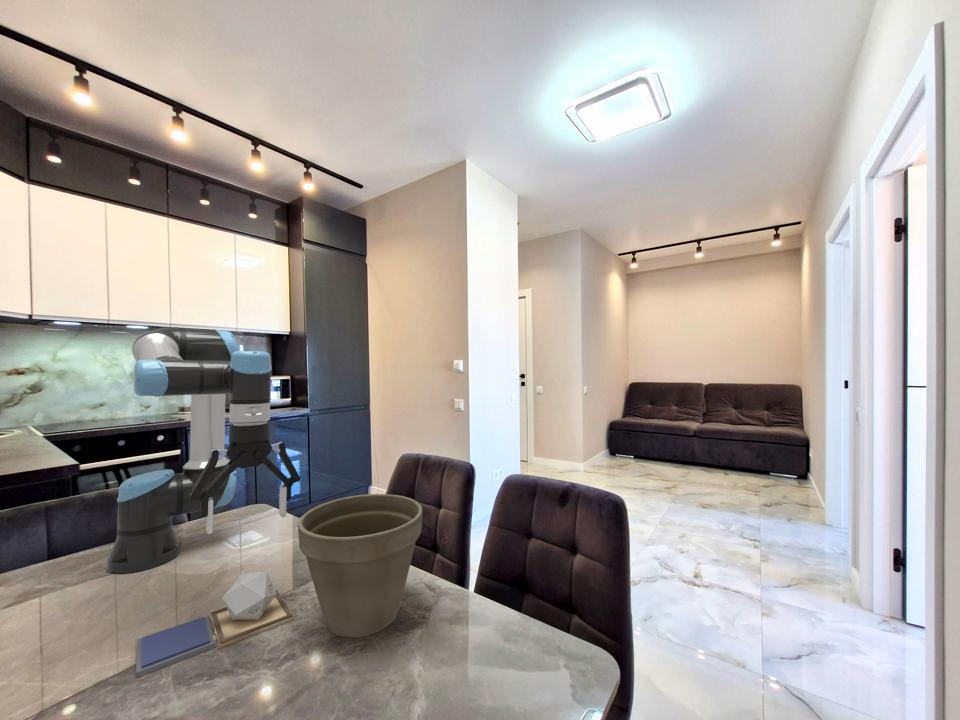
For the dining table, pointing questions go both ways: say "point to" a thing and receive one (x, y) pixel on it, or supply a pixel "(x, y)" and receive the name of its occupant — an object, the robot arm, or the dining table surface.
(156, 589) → the dining table surface
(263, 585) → the die
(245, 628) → the board
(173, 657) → the ink pad
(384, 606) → the plant pot
